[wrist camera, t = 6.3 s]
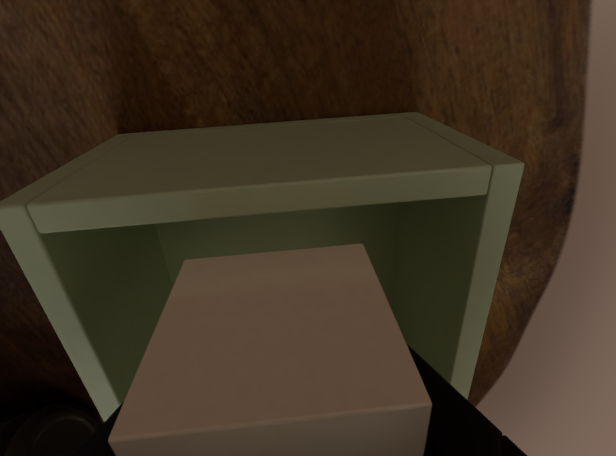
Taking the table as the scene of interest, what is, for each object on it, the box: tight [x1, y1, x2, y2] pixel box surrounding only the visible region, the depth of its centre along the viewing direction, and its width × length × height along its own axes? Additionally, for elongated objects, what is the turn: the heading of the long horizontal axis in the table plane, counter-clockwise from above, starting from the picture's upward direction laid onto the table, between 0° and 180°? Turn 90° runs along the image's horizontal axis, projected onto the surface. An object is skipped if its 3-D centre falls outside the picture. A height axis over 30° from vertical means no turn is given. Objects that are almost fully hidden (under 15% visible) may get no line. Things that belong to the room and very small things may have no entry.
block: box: [108, 243, 432, 456], centre depth 8 cm, size 4×4×4 cm
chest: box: [0, 112, 524, 422], centre depth 15 cm, size 15×13×7 cm
